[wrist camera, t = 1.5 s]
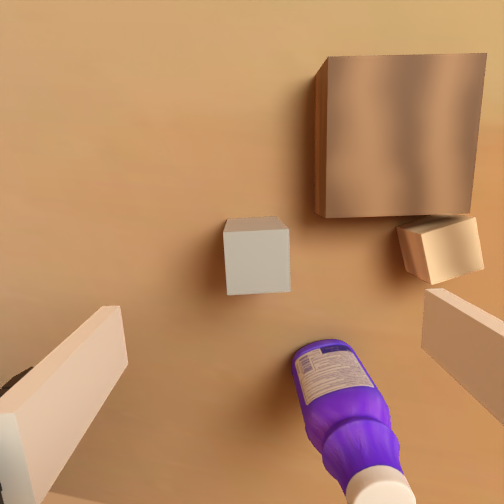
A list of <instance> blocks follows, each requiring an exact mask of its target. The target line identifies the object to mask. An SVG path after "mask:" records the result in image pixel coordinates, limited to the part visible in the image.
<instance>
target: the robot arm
mask: <svg viewBox="0 0 504 504" xmlns="http://www.w3.org/2000/svg"><path fill="white" fill-rule="evenodd" d="M421 348H422V349H423V350H424V351H425V352H426V353H428V354H429V355H430V356H431V357H432V358H433V359H434V360H435V361H436V362H437V363H438V364H439V365H440V366H441V367H442V368H443V369H444V370H446V371H447V372H448V373H449V374H450V375H451V376H452V377H453V378H454V379H455V380H456V381H457V382H458V383H459V384H460V385H461V386H462V387H463V388H465V389H466V390H467V391H468V392H469V393H470V394H471V395H472V396H473V397H474V398H475V399H476V400H477V401H478V402H479V403H480V404H481V405H483V406H484V407H485V408H486V409H487V410H488V411H489V412H490V413H491V414H492V415H493V416H494V417H495V418H496V419H497V420H498V421H499V422H500V423H502V424H503V425H504V321H502V320H500V319H498V318H496V317H495V316H493V315H491V314H489V313H487V312H485V311H484V310H482V309H480V308H478V307H476V306H474V305H473V304H471V303H469V302H467V301H465V300H463V299H462V298H460V297H458V296H456V295H454V294H452V293H451V292H449V291H447V290H445V289H443V288H437V289H425V298H424V312H423V327H422V341H421ZM127 365H128V358H127V351H126V344H125V337H124V330H123V323H122V316H121V309H120V305H119V306H102V307H101V308H100V309H99V310H97V311H96V312H95V313H94V314H93V315H92V316H91V317H90V318H88V319H87V320H86V321H85V322H84V323H83V324H82V325H81V326H80V327H78V328H77V329H76V330H75V331H74V332H73V333H72V334H71V335H70V336H68V337H67V338H66V339H65V340H64V341H63V342H62V343H61V344H60V345H58V346H57V347H56V348H55V349H54V350H53V351H52V352H51V353H49V354H48V355H47V356H46V357H45V358H44V359H43V360H42V361H41V362H39V363H38V364H37V365H36V366H35V367H30V368H28V369H27V370H25V371H23V372H21V373H20V374H18V375H16V376H14V377H13V378H12V379H11V380H10V381H8V382H7V383H6V384H5V385H4V386H3V387H2V389H0V504H41V503H42V501H43V499H44V498H45V496H46V495H47V493H48V492H49V490H50V488H51V487H52V485H53V484H54V482H55V480H56V479H57V477H58V476H59V474H60V472H61V471H62V469H63V467H64V466H65V464H66V463H67V461H68V459H69V458H70V456H71V455H72V453H73V451H74V450H75V448H76V447H77V445H78V443H79V442H80V440H81V439H82V437H83V435H84V434H85V432H86V431H87V429H88V427H89V426H90V424H91V423H92V421H93V419H94V418H95V416H96V415H97V413H98V411H99V410H100V408H101V407H102V405H103V403H104V402H105V400H106V399H107V397H108V395H109V394H110V392H111V391H112V389H113V387H114V386H115V384H116V383H117V381H118V379H119V378H120V376H121V375H122V373H123V371H124V370H125V368H126V367H127Z"/></svg>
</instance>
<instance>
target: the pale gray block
mask: <svg viewBox="0 0 504 504" xmlns="http://www.w3.org/2000/svg"><path fill="white" fill-rule="evenodd" d="M223 240H224V255H225V270H226V285H227V295H242V294H260V293H277V292H291V289H290V246H289V228H288V227H287V226H286V225H285V224H284V223H283V222H282V221H281V220H280V219H279V218H278V217H277V216H272V217H252V218H233V219H227V222H226V225H225V228H224V231H223Z"/></svg>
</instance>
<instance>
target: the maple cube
mask: <svg viewBox="0 0 504 504" xmlns="http://www.w3.org/2000/svg"><path fill="white" fill-rule="evenodd" d="M396 229H397V234H398V238H399V243H400V247H401V252H402V256H403V260H404V265H405V269H406V271H407V272H409V273H411V274H413V275H414V276H416V277H418V278H420V279H422V280H423V281H425V282H427V283H429V284H431V285H433V284H436V283H440V282H443V281H446V280H449V279H453V278H456V277H459V276H462V275H465V274H469V273H472V272H475V271H478V270H482V269H484V265H483V259H482V253H481V247H480V241H479V235H478V229H477V223H476V218H475V217H471V216H465V215H458V214H435V215H432V216H429V217H425V218H422V219H419V220H416V221H413V222H410V223H406V224H403V225H400V226H397V227H396Z"/></svg>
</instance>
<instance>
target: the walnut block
mask: <svg viewBox="0 0 504 504" xmlns="http://www.w3.org/2000/svg"><path fill="white" fill-rule="evenodd" d="M486 58H487V53H470V54H426V55H382V56H339V57H328V58H327V59H326V61H325V62H324V63H323V65H322V66H321V68H320V69H319V71H318V72H317V74H316V84H315V192H314V213H315V214H317V215H319V216H322V217H324V218H347V217H376V216H405V215H433V214H462V213H470V206H471V197H472V188H473V179H474V169H475V160H476V151H477V141H478V132H479V123H480V114H481V104H482V95H483V86H484V76H485V67H486Z"/></svg>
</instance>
